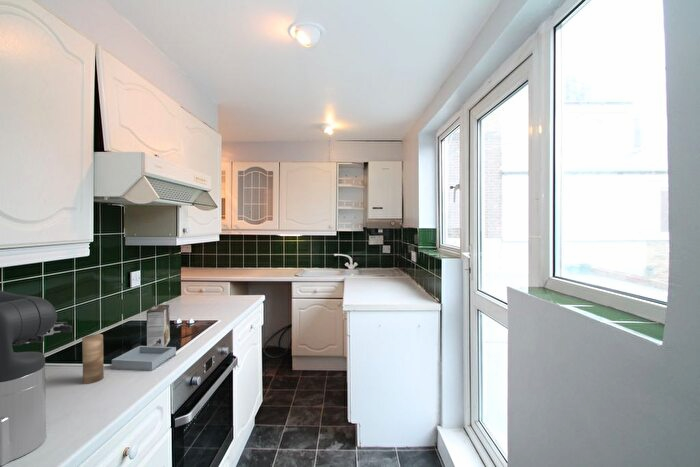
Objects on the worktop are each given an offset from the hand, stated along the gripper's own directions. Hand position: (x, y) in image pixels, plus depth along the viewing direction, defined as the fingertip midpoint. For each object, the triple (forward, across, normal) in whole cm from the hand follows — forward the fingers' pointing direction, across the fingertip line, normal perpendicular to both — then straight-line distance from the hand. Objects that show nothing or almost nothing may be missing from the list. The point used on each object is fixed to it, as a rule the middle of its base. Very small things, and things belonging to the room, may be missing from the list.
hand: (57, 333), depth 93 cm
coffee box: (+14, +27, +15) cm, 34 cm away
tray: (+20, +13, +14) cm, 28 cm away
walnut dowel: (+13, 0, +14) cm, 19 cm away
